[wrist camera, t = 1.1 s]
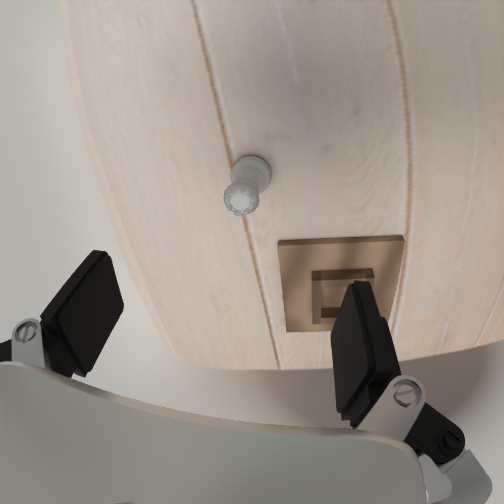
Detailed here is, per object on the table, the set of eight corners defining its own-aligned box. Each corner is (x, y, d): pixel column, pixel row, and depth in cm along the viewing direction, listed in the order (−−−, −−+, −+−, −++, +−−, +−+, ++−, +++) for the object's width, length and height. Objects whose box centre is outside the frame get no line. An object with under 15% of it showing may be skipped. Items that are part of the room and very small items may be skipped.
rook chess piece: (241, 147, 30) (225, 171, 24) (278, 165, 31) (273, 193, 24) (226, 181, 33) (207, 212, 26) (261, 197, 33) (251, 233, 27)
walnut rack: (402, 235, 33) (409, 249, 31) (385, 321, 42) (388, 337, 39) (278, 240, 36) (276, 255, 34) (287, 326, 45) (285, 342, 42)
